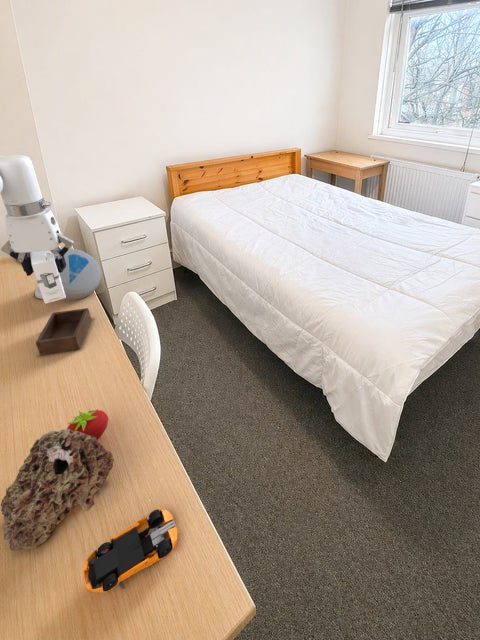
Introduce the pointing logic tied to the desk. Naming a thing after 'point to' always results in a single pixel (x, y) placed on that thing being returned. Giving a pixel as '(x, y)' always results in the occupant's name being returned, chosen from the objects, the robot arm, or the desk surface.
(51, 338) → the holder
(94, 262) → the grey round disc
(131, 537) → the toy car
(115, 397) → the desk surface
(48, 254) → the ink box
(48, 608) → the desk surface
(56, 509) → the coral
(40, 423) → the desk surface
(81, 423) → the strawberry
